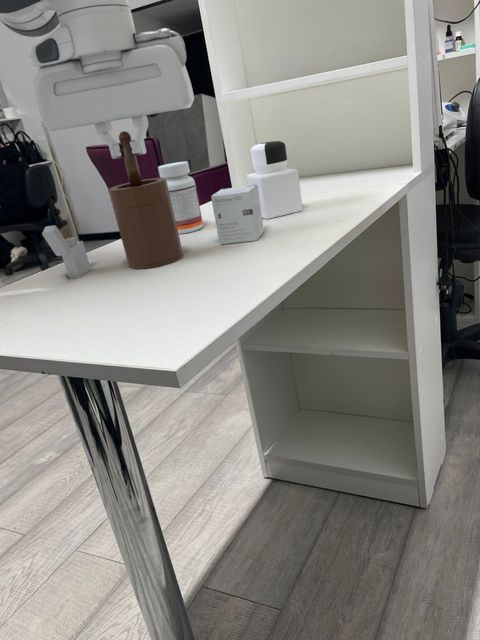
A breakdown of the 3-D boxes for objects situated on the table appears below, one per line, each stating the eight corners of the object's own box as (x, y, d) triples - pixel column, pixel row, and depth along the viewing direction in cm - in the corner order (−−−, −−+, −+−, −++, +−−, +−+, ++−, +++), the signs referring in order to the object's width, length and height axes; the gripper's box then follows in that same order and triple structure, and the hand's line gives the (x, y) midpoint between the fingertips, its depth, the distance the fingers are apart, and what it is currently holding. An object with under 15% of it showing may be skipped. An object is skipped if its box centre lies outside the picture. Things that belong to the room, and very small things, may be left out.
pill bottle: (174, 228, 100) (160, 164, 95) (207, 223, 99) (193, 159, 94) (166, 236, 94) (150, 169, 89) (200, 231, 93) (186, 163, 88)
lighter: (81, 270, 81) (64, 217, 78) (91, 268, 81) (75, 215, 78) (58, 285, 75) (39, 228, 72) (70, 284, 75) (51, 227, 72)
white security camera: (287, 206, 101) (278, 138, 96) (303, 210, 95) (294, 138, 90) (252, 214, 99) (240, 146, 94) (266, 219, 93) (254, 146, 88)
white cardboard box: (219, 245, 82) (209, 196, 79) (228, 235, 87) (219, 188, 84) (258, 240, 80) (249, 190, 77) (265, 230, 86) (257, 183, 82)
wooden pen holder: (121, 272, 76) (99, 193, 72) (139, 256, 84) (120, 183, 79) (175, 265, 75) (156, 184, 71) (188, 249, 82) (172, 175, 78)
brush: (132, 238, 76) (105, 134, 71) (140, 231, 80) (115, 132, 74) (156, 234, 76) (131, 130, 70) (163, 228, 79) (140, 128, 73)
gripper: (186, 27, 69) (208, 142, 74) (39, 56, 72) (71, 164, 78) (174, 21, 63) (198, 146, 69) (15, 53, 66) (50, 170, 72)
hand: (129, 156), depth 73 cm, fingers closed on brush
